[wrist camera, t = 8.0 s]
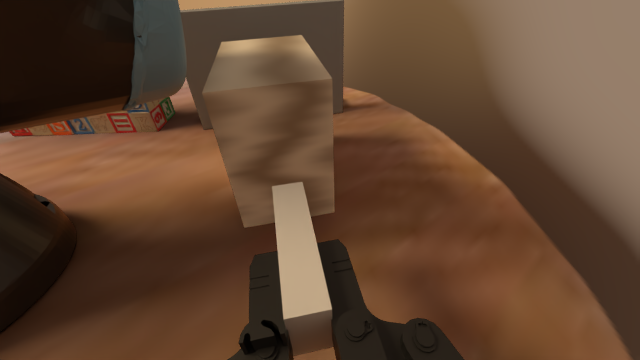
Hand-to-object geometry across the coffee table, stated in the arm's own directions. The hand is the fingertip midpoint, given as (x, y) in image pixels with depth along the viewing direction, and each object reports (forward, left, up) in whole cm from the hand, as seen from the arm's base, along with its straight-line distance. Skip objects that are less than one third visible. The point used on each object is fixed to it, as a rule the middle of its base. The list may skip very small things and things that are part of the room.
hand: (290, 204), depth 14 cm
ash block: (0, +14, -8) cm, 16 cm away
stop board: (0, +29, -8) cm, 30 cm away
